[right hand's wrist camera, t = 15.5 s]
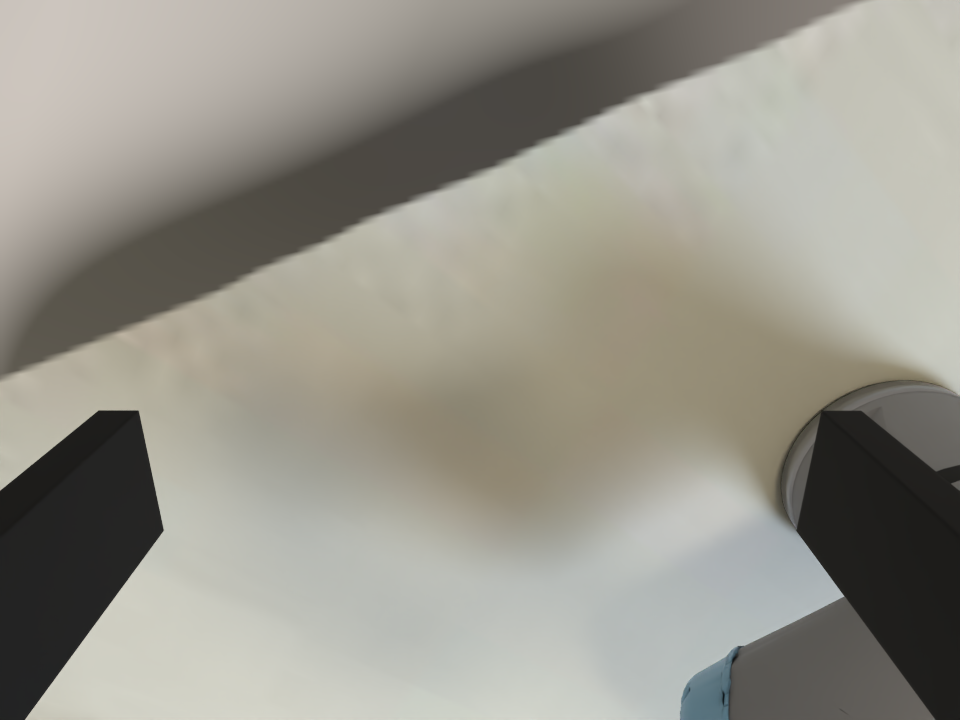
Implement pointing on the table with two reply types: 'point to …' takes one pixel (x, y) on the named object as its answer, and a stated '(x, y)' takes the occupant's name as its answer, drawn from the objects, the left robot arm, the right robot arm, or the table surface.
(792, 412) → the table surface
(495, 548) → the table surface
